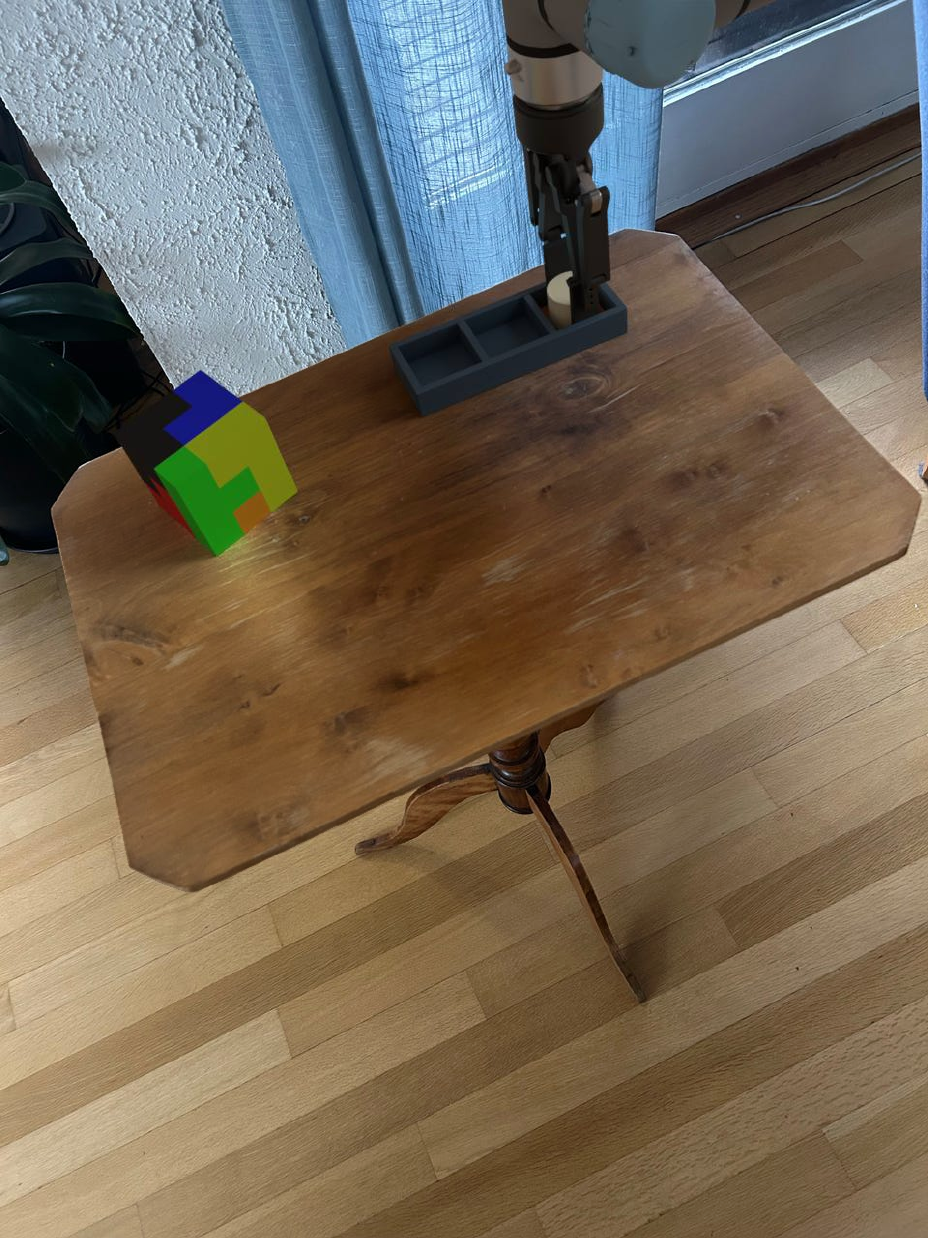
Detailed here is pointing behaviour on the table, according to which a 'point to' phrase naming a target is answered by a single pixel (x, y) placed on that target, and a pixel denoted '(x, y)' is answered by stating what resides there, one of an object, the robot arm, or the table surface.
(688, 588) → the table surface
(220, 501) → the puzzle toy
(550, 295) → the cylinder
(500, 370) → the grid
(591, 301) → the robot arm
